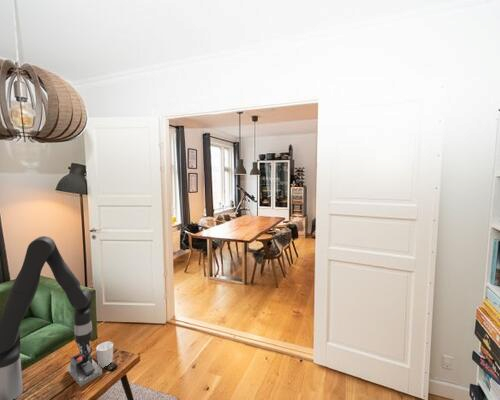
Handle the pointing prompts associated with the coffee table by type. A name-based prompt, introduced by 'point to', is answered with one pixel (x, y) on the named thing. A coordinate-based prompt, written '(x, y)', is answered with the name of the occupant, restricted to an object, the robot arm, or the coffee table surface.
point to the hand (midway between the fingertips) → (85, 362)
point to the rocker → (88, 367)
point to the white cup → (104, 353)
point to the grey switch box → (79, 373)
